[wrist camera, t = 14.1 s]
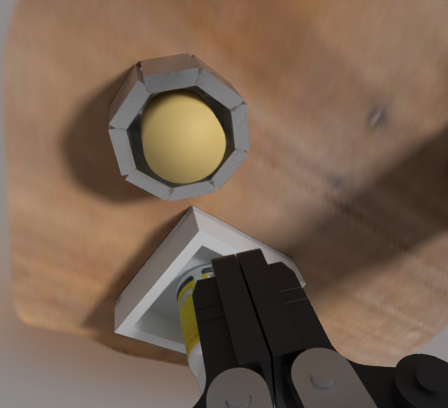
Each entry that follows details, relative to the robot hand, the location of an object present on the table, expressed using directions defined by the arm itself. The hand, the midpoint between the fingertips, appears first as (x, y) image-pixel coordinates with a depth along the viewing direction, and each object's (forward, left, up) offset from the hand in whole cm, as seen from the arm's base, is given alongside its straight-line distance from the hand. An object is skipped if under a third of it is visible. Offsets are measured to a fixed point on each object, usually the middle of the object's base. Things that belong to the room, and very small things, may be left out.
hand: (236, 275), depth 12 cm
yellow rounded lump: (0, 0, -12) cm, 12 cm away
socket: (0, 0, -13) cm, 13 cm away
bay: (-9, +9, -13) cm, 18 cm away
